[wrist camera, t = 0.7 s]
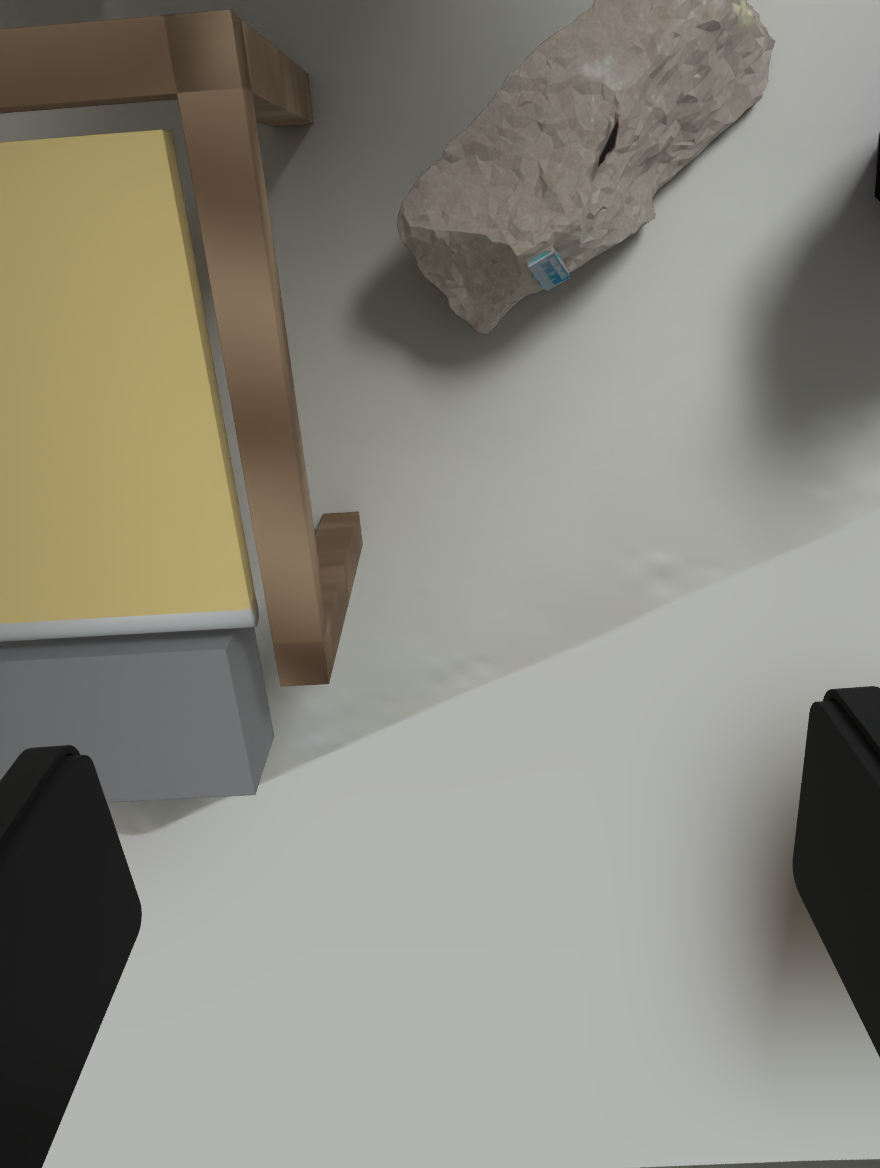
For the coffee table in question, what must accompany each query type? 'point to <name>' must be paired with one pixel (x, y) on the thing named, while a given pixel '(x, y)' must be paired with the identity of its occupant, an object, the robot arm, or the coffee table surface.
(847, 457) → the coffee table surface
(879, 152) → the potion bottle
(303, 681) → the frame
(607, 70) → the concrete fragment
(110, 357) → the trapdoor
